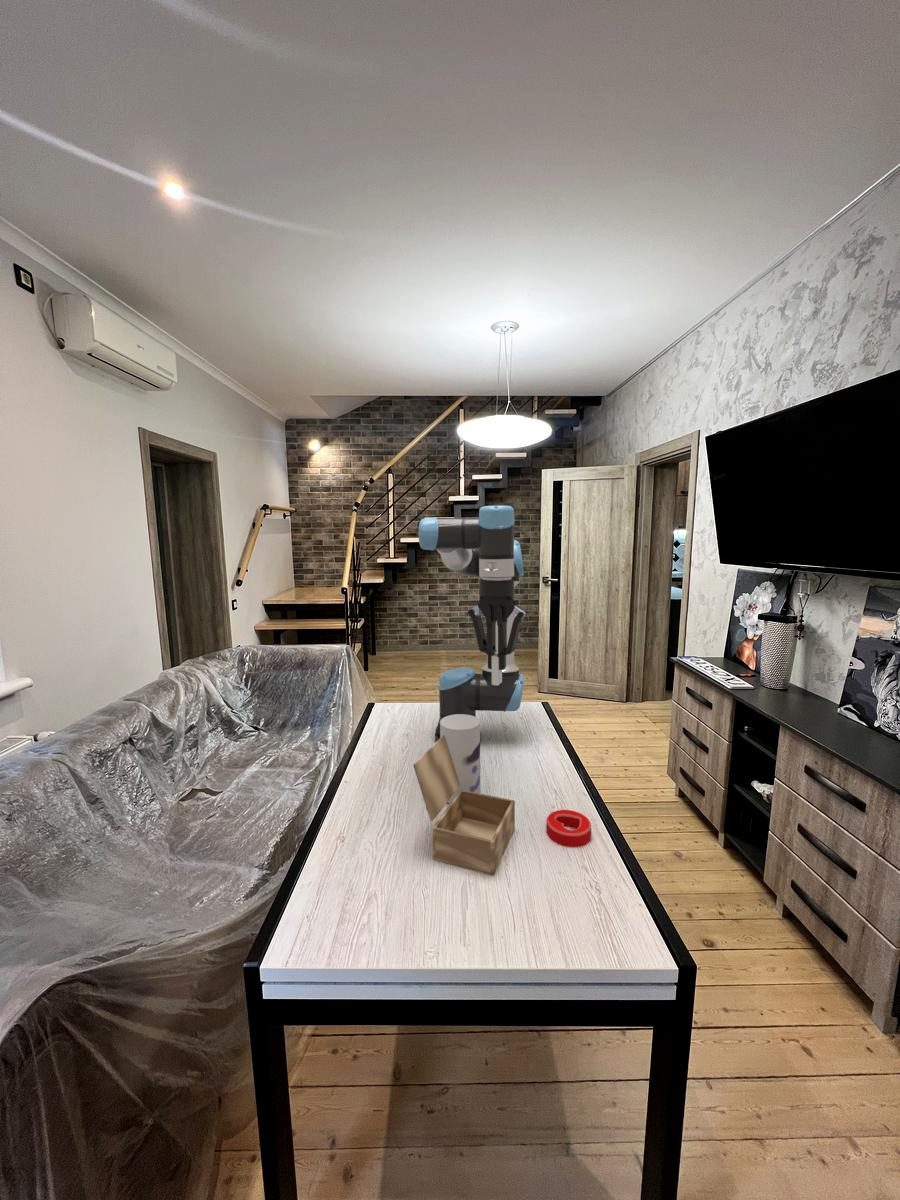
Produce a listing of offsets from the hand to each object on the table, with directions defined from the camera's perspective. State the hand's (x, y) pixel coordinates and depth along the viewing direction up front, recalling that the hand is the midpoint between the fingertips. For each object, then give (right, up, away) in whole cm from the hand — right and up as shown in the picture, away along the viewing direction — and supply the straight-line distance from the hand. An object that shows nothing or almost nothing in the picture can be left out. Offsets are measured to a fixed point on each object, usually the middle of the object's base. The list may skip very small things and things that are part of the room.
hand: (496, 683), depth 108 cm
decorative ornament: (+16, -34, 0) cm, 37 cm away
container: (-8, -32, +16) cm, 36 cm away
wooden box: (-5, -34, -4) cm, 35 cm away
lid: (-13, -20, -2) cm, 24 cm away
